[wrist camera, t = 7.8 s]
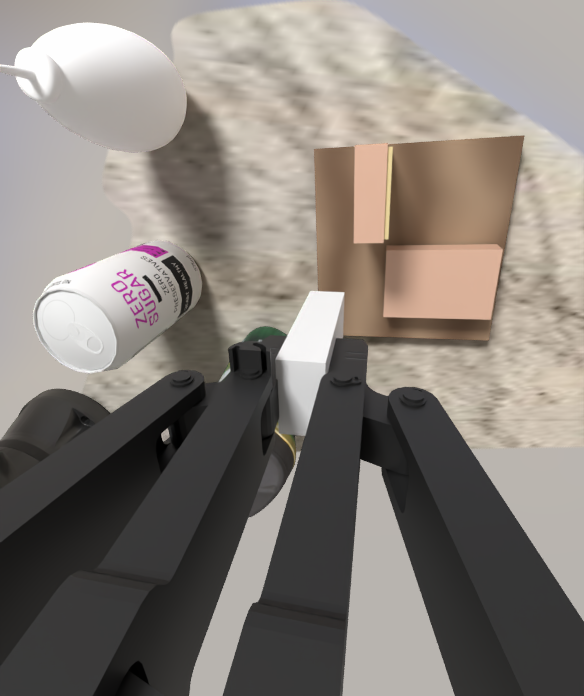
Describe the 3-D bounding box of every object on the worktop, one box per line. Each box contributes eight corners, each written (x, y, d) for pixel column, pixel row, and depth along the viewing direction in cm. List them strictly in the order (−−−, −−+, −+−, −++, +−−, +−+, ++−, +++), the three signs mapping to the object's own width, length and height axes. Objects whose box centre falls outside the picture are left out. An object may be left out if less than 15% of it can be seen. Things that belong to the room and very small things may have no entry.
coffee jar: (334, 363, 44) (303, 491, 27) (293, 407, 47) (245, 542, 31) (263, 310, 43) (187, 410, 26) (227, 359, 46) (141, 473, 30)
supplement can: (124, 283, 45) (15, 339, 32) (152, 222, 41) (41, 257, 28) (184, 326, 46) (102, 398, 33) (217, 269, 42) (139, 325, 29)
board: (321, 328, 42) (319, 334, 41) (316, 148, 35) (314, 149, 33) (485, 333, 39) (488, 340, 37) (518, 136, 31) (524, 135, 30)
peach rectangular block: (383, 317, 36) (490, 319, 34) (386, 250, 34) (502, 249, 32) (383, 308, 38) (484, 310, 36) (386, 244, 36) (495, 243, 34)
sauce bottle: (119, 130, 38) (-74, 118, 22) (133, 33, 34) (-88, -68, 18) (194, 165, 38) (56, 177, 22) (217, 70, 34) (68, 2, 18)
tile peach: (361, 222, 35) (353, 243, 27) (362, 145, 33) (354, 145, 25) (387, 221, 35) (388, 242, 27) (391, 144, 32) (393, 142, 24)
